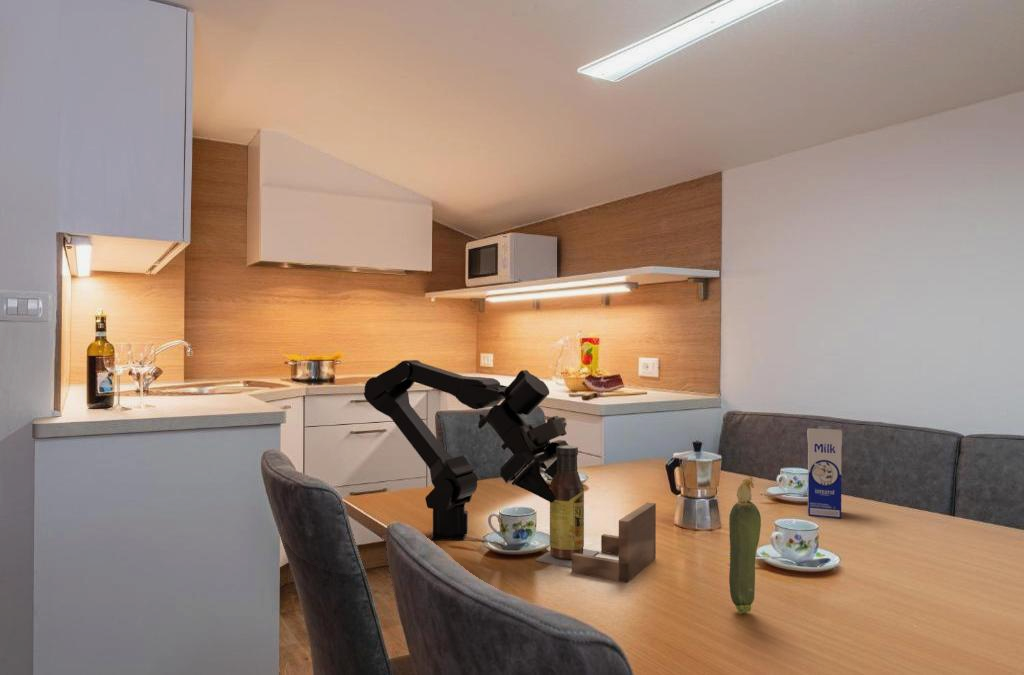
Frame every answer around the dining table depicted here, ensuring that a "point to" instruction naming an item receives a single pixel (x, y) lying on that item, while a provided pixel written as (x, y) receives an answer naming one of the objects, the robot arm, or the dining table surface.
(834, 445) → the milk carton
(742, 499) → the vegetable
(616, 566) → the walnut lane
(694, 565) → the dining table surface
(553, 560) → the mat
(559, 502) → the sauce bottle
